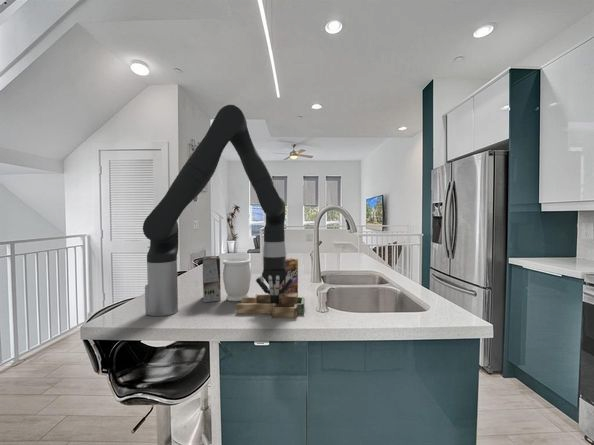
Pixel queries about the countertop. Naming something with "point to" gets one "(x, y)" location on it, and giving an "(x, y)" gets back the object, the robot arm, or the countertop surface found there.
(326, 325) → the countertop surface
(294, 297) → the block
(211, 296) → the coffee box
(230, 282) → the jar
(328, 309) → the countertop surface
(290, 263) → the candy box
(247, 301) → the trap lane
